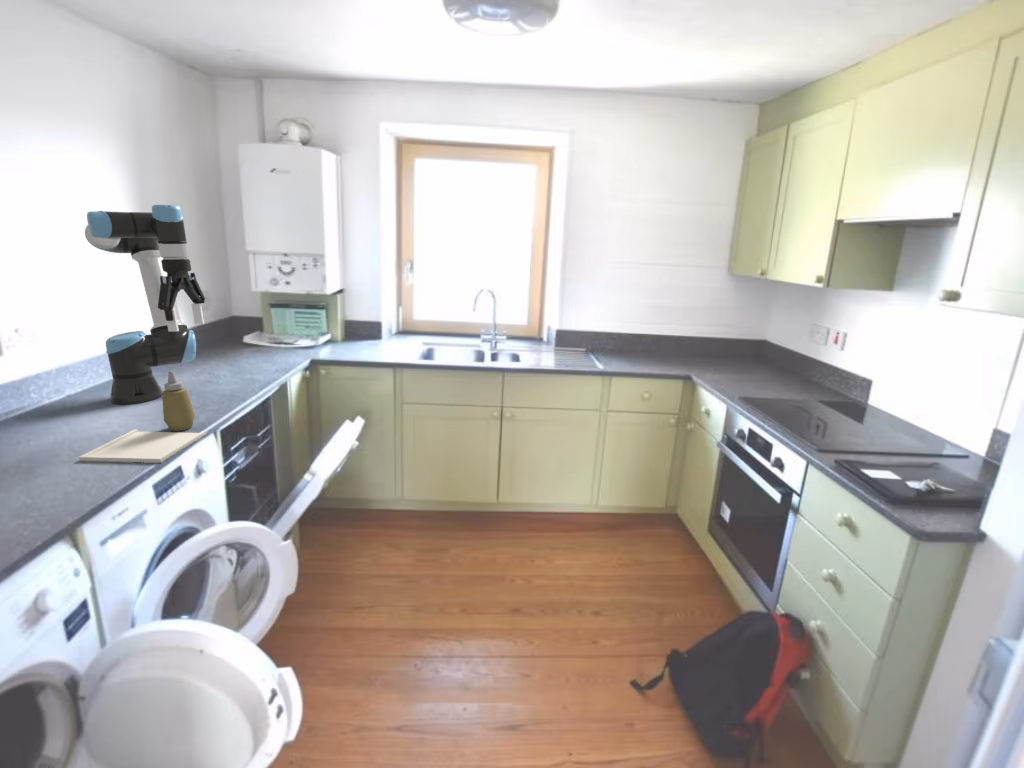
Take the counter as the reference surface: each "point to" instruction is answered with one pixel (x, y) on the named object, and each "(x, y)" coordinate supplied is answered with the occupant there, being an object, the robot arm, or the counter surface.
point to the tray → (143, 447)
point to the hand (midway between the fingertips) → (187, 327)
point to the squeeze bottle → (177, 405)
